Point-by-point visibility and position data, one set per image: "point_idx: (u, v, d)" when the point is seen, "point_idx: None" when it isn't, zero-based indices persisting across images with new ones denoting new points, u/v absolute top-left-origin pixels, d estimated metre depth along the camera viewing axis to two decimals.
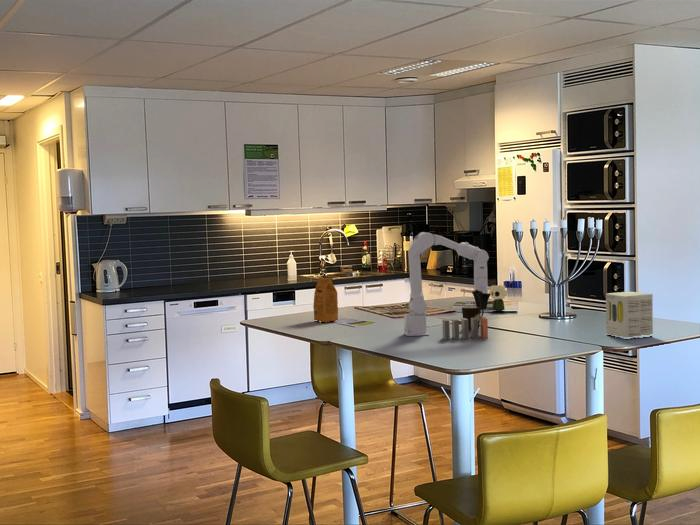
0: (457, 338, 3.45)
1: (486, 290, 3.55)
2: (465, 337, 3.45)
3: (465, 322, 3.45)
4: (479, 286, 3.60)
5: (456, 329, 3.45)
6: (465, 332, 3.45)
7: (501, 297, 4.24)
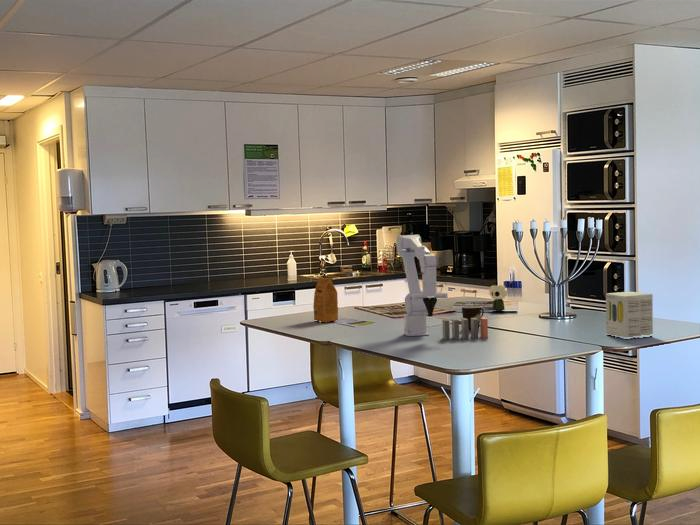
0: (457, 338, 3.45)
1: (412, 296, 3.44)
2: (465, 337, 3.45)
3: (465, 322, 3.45)
4: None
5: (456, 329, 3.45)
6: (465, 332, 3.45)
7: (501, 297, 4.24)
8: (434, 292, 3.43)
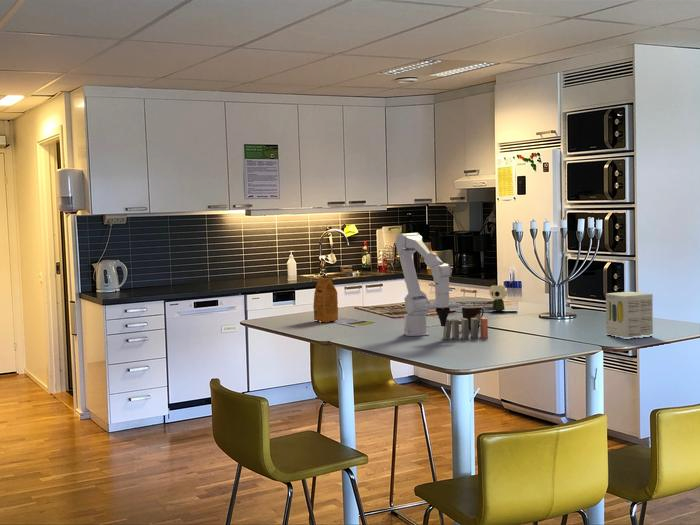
0: (457, 338, 3.45)
1: (425, 306, 3.45)
2: (465, 337, 3.45)
3: (465, 322, 3.45)
4: None
5: (456, 329, 3.45)
6: (465, 332, 3.45)
7: (501, 297, 4.24)
8: (447, 302, 3.44)
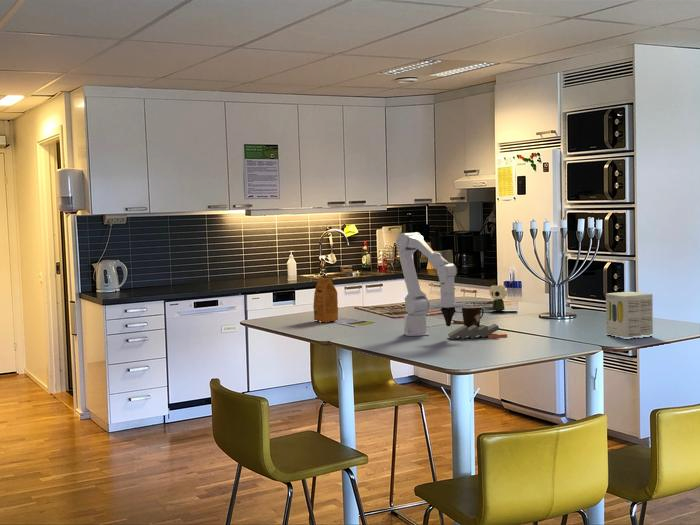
0: (462, 337, 3.45)
1: (430, 306, 3.45)
2: (471, 335, 3.45)
3: (484, 328, 3.46)
4: None
5: (469, 332, 3.45)
6: (476, 333, 3.46)
7: (501, 297, 4.24)
8: (452, 302, 3.44)
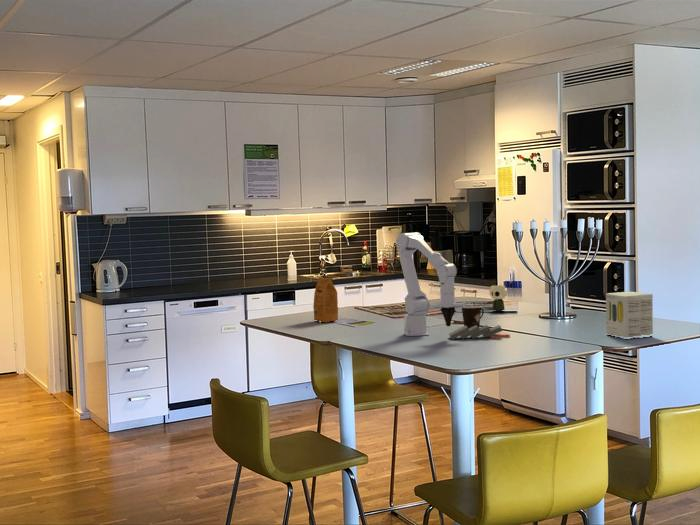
0: (462, 337, 3.45)
1: (430, 306, 3.45)
2: (472, 335, 3.45)
3: (486, 328, 3.45)
4: None
5: (470, 332, 3.45)
6: (477, 333, 3.45)
7: (501, 297, 4.24)
8: (452, 302, 3.44)
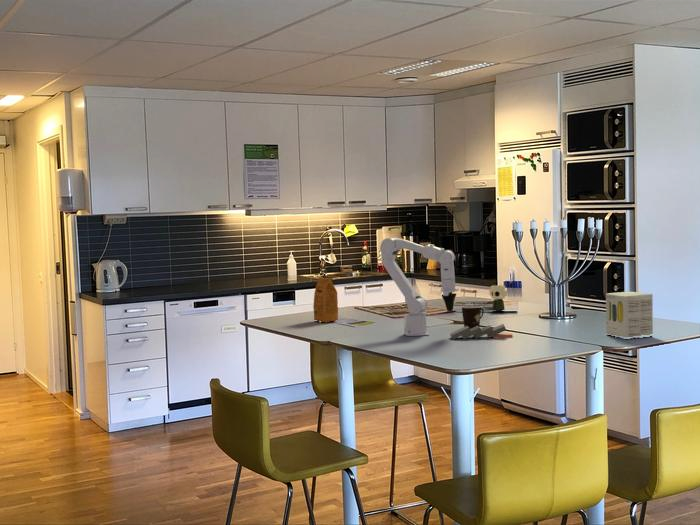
0: (464, 337, 3.45)
1: (446, 292, 3.48)
2: (475, 335, 3.45)
3: (489, 329, 3.45)
4: (444, 288, 3.53)
5: (472, 332, 3.45)
6: (480, 333, 3.45)
7: (501, 297, 4.24)
8: None
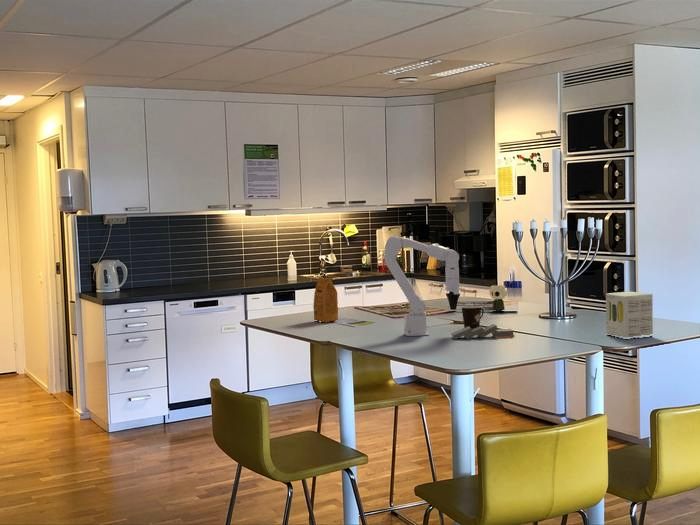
0: (467, 337, 3.45)
1: (457, 291, 3.52)
2: (481, 334, 3.45)
3: (494, 327, 3.46)
4: (450, 287, 3.57)
5: (475, 332, 3.45)
6: (485, 332, 3.46)
7: (501, 297, 4.24)
8: None
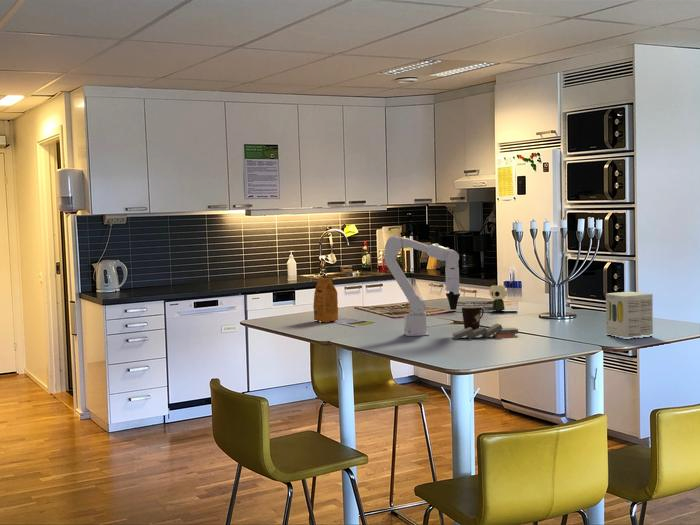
0: (469, 337, 3.45)
1: (457, 291, 3.52)
2: (486, 334, 3.46)
3: (499, 327, 3.47)
4: (450, 287, 3.57)
5: (477, 333, 3.45)
6: (490, 331, 3.46)
7: (501, 297, 4.24)
8: None
